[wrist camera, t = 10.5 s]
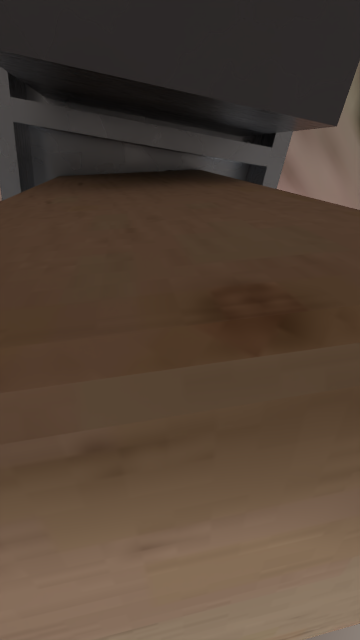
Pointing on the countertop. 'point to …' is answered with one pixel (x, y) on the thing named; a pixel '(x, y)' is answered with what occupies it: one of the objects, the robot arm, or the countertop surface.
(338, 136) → the countertop surface
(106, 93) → the rack
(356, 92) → the countertop surface
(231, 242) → the wooden block
